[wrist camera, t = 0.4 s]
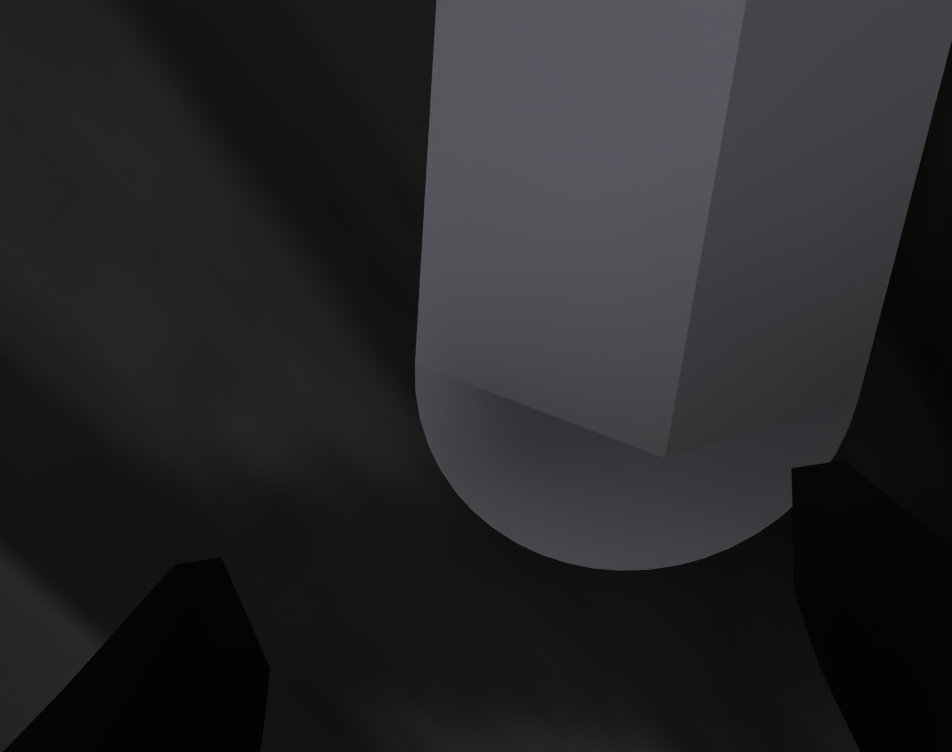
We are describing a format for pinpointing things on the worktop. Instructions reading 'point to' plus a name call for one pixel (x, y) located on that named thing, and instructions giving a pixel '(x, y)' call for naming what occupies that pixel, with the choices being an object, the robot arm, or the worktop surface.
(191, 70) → the worktop surface
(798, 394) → the wedge on round base
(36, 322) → the worktop surface
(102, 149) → the worktop surface
